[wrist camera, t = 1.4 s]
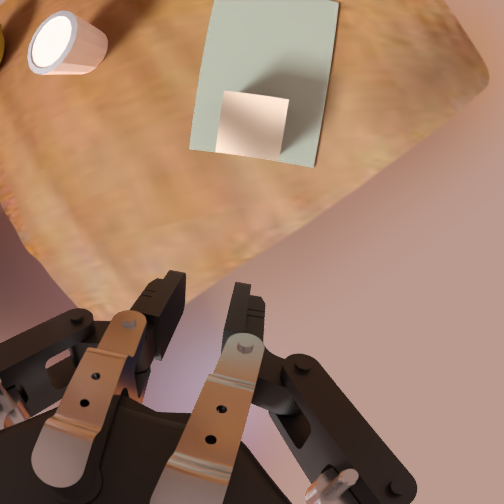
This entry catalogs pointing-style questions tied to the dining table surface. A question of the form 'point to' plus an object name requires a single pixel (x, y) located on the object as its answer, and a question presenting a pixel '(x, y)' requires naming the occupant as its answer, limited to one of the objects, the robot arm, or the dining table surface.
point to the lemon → (1, 44)
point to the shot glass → (66, 46)
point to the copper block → (251, 125)
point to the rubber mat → (268, 67)
